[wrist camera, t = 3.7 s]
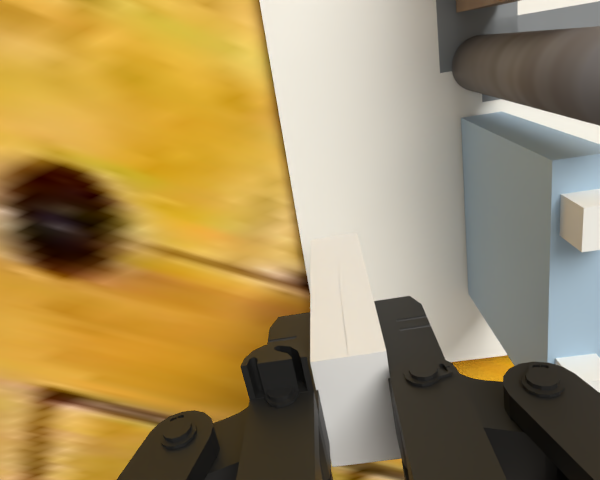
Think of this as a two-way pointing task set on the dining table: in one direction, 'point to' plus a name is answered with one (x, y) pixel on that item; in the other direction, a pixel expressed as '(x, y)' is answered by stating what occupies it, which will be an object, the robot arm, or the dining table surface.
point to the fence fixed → (533, 67)
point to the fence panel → (534, 239)
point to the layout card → (397, 137)
